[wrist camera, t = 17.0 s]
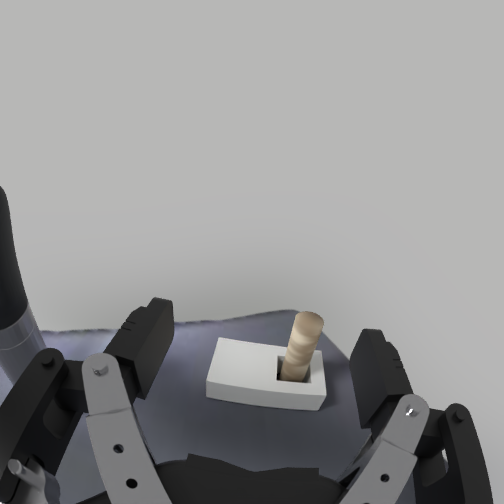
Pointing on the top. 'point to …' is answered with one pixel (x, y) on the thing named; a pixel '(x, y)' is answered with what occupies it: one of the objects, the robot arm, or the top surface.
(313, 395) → the hole block
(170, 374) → the top surface
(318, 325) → the birch peg
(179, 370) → the top surface
